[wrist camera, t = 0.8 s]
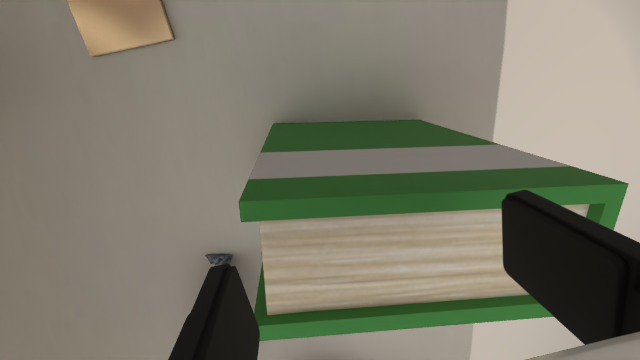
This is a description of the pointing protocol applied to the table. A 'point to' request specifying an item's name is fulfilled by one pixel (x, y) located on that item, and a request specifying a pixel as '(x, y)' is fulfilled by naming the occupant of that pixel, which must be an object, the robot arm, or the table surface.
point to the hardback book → (396, 226)
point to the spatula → (120, 24)
